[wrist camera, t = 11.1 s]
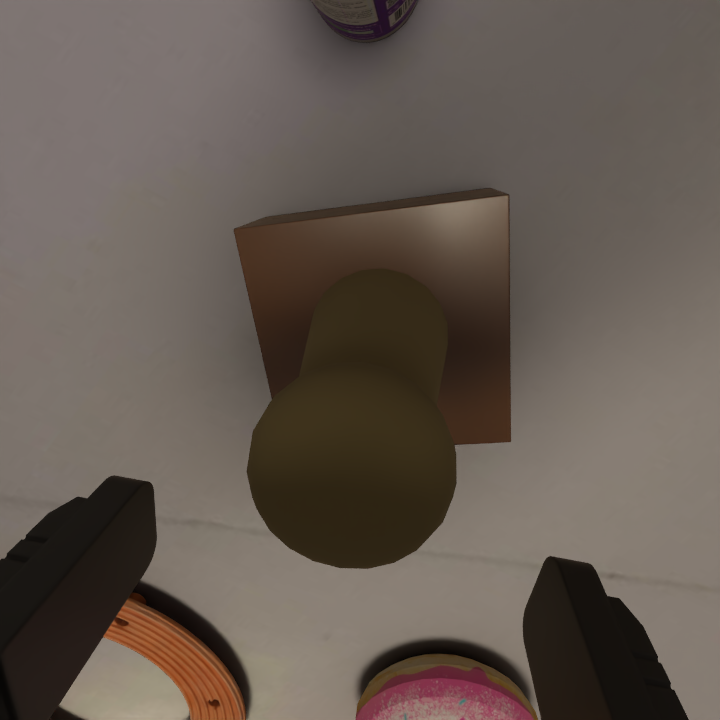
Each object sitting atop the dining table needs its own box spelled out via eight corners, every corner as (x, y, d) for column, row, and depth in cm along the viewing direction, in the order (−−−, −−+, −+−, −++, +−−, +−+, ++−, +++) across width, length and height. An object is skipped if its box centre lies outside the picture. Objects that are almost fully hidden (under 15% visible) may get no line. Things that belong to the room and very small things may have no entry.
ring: (286, 628, 35) (278, 660, 33) (217, 787, 45) (207, 820, 43) (-39, 516, 34) (-70, 541, 32) (-35, 705, 44) (-58, 734, 42)
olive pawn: (338, 244, 19) (251, 340, 9) (473, 302, 19) (539, 459, 9) (292, 368, 21) (182, 554, 11) (412, 417, 22) (410, 641, 12)
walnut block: (264, 216, 23) (232, 228, 19) (491, 187, 21) (509, 193, 17) (303, 409, 27) (284, 453, 23) (495, 397, 26) (511, 442, 22)
